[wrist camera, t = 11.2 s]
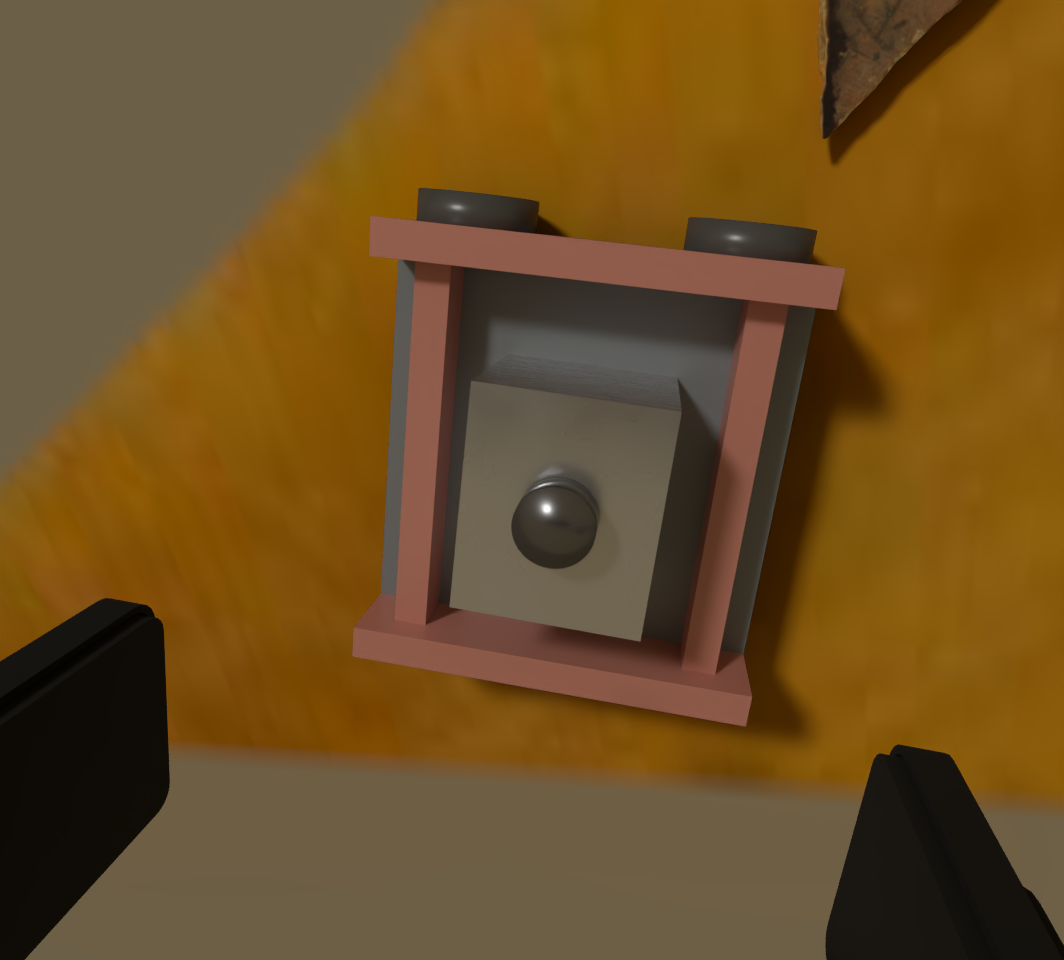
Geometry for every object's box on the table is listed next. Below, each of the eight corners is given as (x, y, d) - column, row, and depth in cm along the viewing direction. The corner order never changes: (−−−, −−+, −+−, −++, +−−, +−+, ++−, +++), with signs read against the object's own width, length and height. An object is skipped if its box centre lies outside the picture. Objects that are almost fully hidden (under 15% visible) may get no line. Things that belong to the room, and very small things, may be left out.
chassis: (811, 233, 24) (853, 229, 19) (725, 659, 28) (739, 752, 23) (430, 192, 25) (372, 178, 20) (405, 605, 30) (351, 681, 25)
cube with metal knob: (677, 377, 23) (683, 421, 17) (644, 565, 25) (639, 661, 19) (509, 353, 23) (460, 387, 18) (488, 539, 25) (439, 624, 20)
